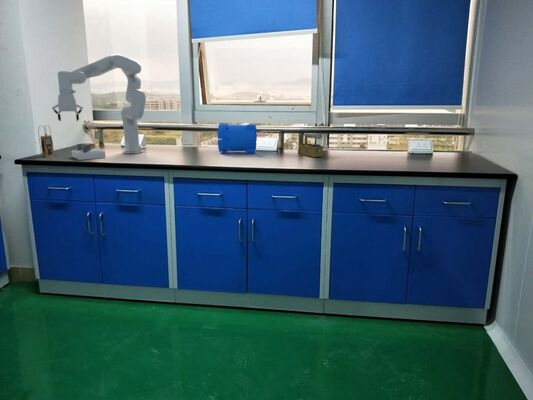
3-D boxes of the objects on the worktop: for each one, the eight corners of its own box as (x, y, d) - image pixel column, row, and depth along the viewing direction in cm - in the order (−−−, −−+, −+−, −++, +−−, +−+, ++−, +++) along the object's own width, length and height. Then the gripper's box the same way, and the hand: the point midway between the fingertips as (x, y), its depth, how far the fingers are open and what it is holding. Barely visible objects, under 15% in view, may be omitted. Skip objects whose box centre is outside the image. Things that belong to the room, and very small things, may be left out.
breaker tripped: (89, 149, 284) (88, 143, 283) (90, 150, 282) (89, 144, 281) (85, 150, 282) (84, 144, 281) (86, 150, 280) (86, 144, 280)
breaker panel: (97, 154, 294) (96, 148, 293) (105, 157, 282) (104, 151, 281) (72, 156, 285) (71, 150, 284) (79, 159, 272) (78, 153, 271)
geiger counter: (313, 157, 285) (314, 134, 281) (291, 153, 306) (291, 131, 303) (325, 156, 289) (325, 133, 286) (302, 152, 311) (302, 130, 307)
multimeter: (52, 158, 279) (49, 126, 274) (38, 157, 281) (34, 125, 276) (67, 155, 293) (64, 124, 288) (53, 154, 295) (50, 124, 290)
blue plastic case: (217, 154, 300) (217, 125, 296) (222, 149, 321) (221, 122, 317) (254, 154, 299) (254, 125, 294) (256, 150, 320) (256, 122, 316)
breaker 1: (81, 149, 286) (80, 143, 285) (82, 149, 284) (81, 144, 284) (77, 149, 285) (76, 144, 284) (78, 150, 283) (77, 144, 282)
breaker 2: (86, 151, 277) (85, 145, 276) (87, 151, 275) (87, 146, 274) (82, 151, 276) (81, 145, 275) (83, 152, 274) (83, 146, 273)
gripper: (81, 92, 276) (83, 120, 280) (50, 92, 270) (53, 120, 274) (81, 92, 269) (84, 121, 273) (50, 92, 263) (53, 121, 267)
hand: (68, 121), depth 273 cm, fingers open, 9 cm apart
